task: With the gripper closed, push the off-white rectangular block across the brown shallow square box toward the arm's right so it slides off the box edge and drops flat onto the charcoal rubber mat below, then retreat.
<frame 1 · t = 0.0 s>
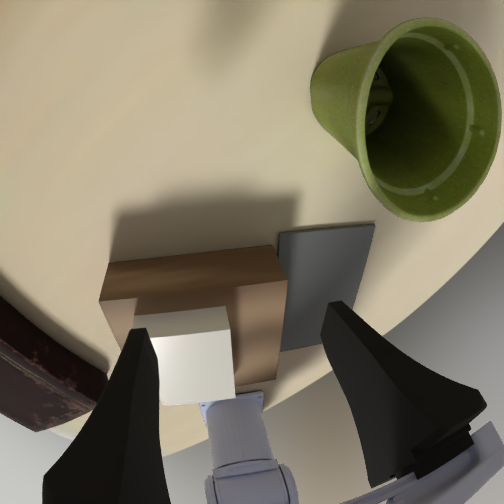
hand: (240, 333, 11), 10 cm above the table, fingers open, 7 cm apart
plant pot: (350, 93, 17), on the table
brown shallow square box: (197, 313, 24), on the table
off-white rectangular block: (188, 352, 21), point 4 cm above the table, touching brown shallow square box
mat: (317, 296, 26), on the table
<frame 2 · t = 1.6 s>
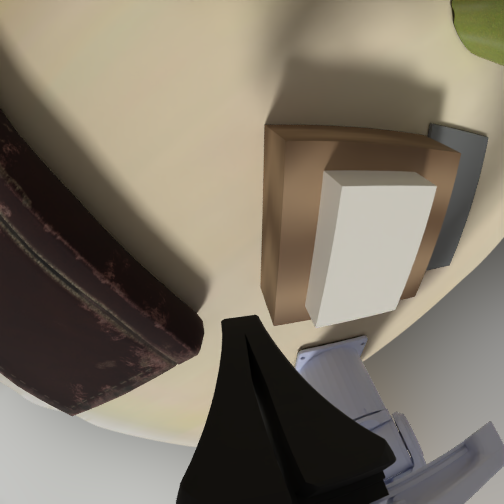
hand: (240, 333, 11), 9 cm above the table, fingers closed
plant pot: (471, 22, 13), on the table
diary: (18, 265, 18), on the table
brown shallow square box: (345, 210, 20), on the table
off-white rectangular block: (360, 242, 17), point 4 cm above the table, touching brown shallow square box
mat: (444, 205, 22), on the table
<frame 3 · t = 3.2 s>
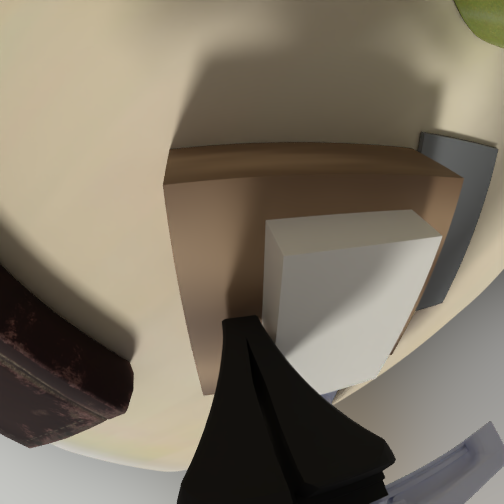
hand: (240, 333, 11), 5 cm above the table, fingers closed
brown shallow square box: (298, 254, 16), on the table
off-white rectangular block: (329, 305, 13), point 4 cm above the table, touching brown shallow square box, gripper
mat: (438, 237, 18), on the table
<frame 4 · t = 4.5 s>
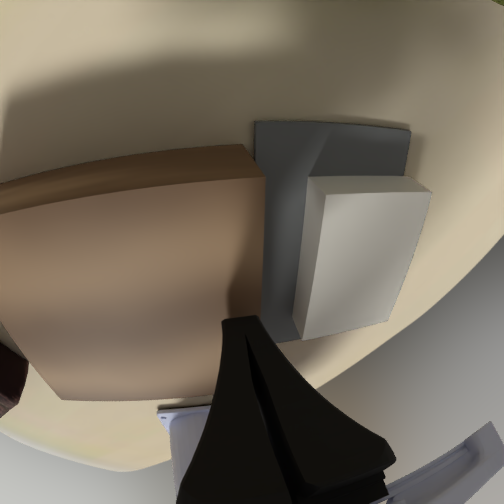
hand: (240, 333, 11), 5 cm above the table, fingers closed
brown shallow square box: (127, 273, 14), on the table
off-white rectangular block: (366, 273, 15), point 2 cm above the table, tilted 180°, touching mat
mat: (324, 251, 16), on the table
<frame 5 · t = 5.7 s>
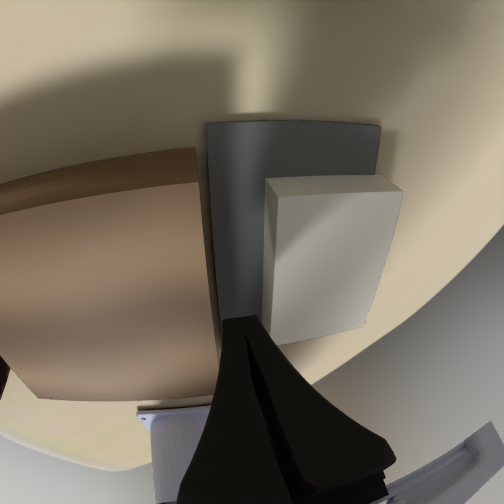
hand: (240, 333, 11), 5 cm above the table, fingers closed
brown shallow square box: (93, 277, 14), on the table
off-white rectangular block: (332, 278, 14), point 2 cm above the table, tilted 180°, touching mat
mat: (290, 254, 16), on the table
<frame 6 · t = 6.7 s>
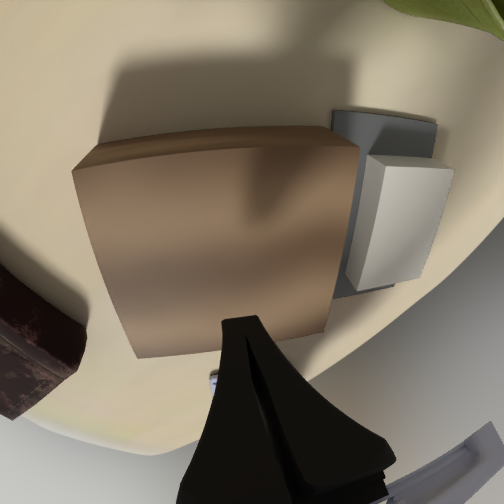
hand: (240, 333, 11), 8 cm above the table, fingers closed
brown shallow square box: (217, 230, 18), on the table
off-white rectangular block: (407, 231, 18), point 2 cm above the table, tilted 180°, touching mat
mat: (373, 216, 19), on the table
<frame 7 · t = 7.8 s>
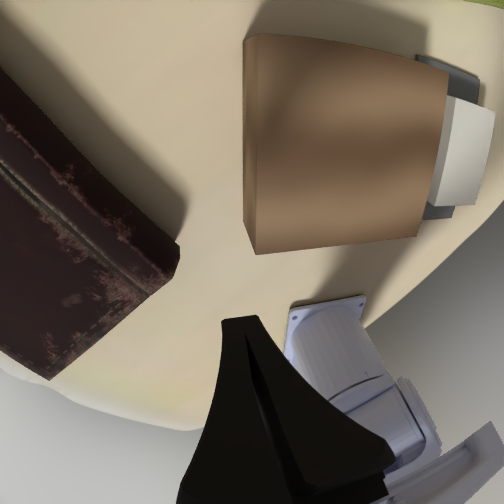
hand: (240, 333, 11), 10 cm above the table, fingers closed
brown shallow square box: (332, 135, 18), on the table
off-white rectangular block: (468, 156, 18), point 2 cm above the table, tilted 180°, touching mat
mat: (440, 145, 20), on the table
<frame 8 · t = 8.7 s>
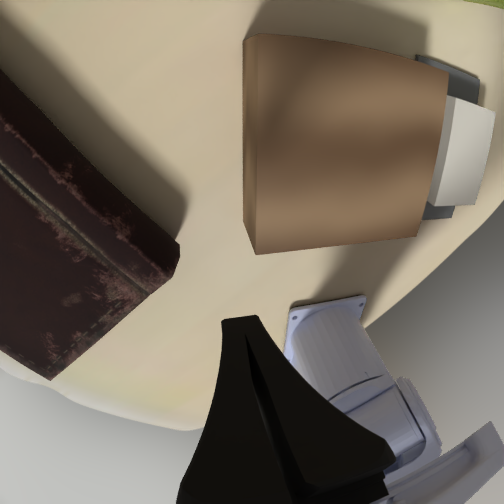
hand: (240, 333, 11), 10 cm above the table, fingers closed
brown shallow square box: (332, 135, 18), on the table
off-white rectangular block: (468, 156, 18), point 2 cm above the table, tilted 180°, touching mat
mat: (440, 145, 20), on the table
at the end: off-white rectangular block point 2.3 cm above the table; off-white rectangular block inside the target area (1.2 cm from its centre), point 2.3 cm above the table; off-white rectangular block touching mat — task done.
